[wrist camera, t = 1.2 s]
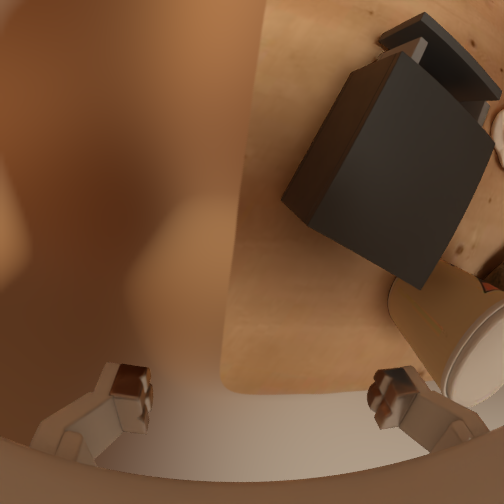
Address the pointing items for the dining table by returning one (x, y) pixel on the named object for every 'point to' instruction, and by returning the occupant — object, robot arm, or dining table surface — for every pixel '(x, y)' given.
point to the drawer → (444, 62)
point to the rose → (499, 135)
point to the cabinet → (392, 168)
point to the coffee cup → (454, 331)
